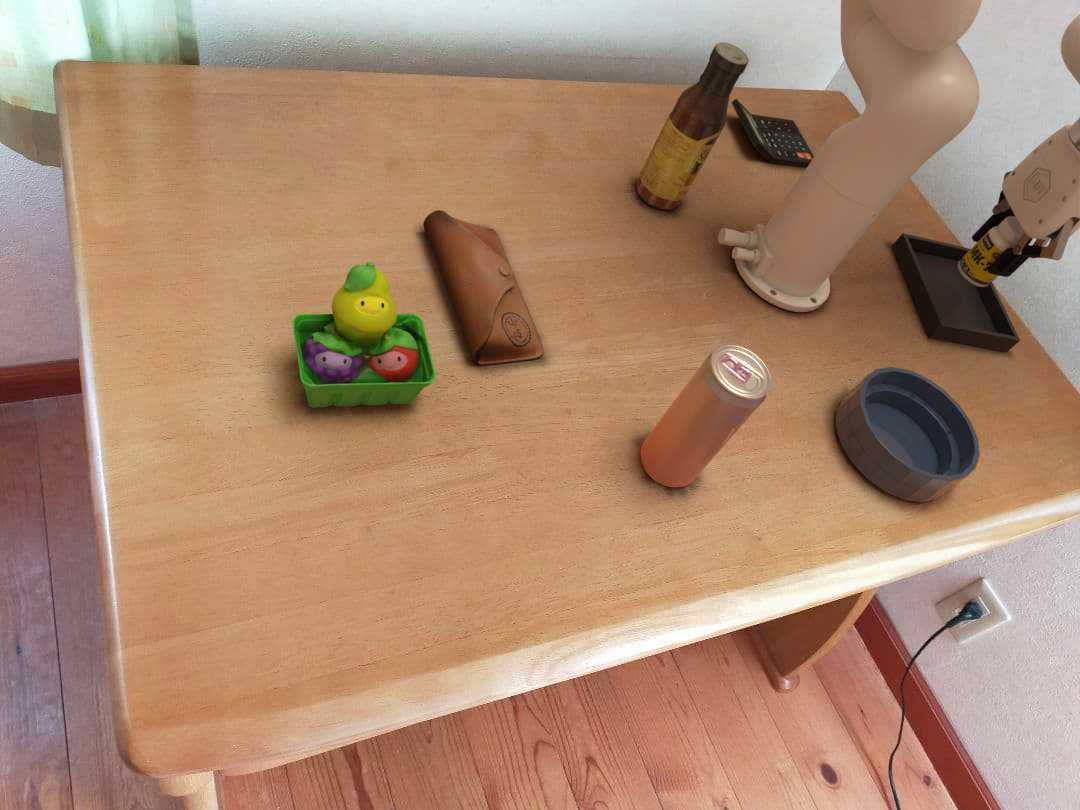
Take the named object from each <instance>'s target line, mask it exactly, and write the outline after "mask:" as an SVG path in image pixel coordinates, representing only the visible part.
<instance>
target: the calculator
mask: <svg viewBox="0 0 1080 810" xmlns="http://www.w3.org/2000/svg"><path fill="white" fill-rule="evenodd" d="M731 105H732V108H733V109H734V111H735V113H736V115H737V117H738V119H739V121H740V123H741V124H742V127H743V128H744V131H745V133H746V134H747V136H748V138H749V140H750V142H751V144H752V146H753V148H755V150H756V151H758V152H759V153H760V154H761V156H763V157H764V158H765V159H766V160H767V161H768V162H769V163H770V164H774V165H780V166H781V165H782V166H788V167H789V166H790V167H798V168H805V169H806V168H807V167H808V165H809V164H810V162H811V161H812V160H813V158H814V157H815V155H814V154H813V152H812V151H811V149H810V147H809V145H808V144H807V142H806V140H805V138H804V137H803V134H802V133H801V132H800V131H801V130H799V128H798V126H797V124H796V122H795V121H794V120H793V119H788V118H787V119H786V118H779V117H774V116H767V115H766V116H765V115H759V114H753V113H751V112H750V111H749V110H748V109H747V108H746V107H745V106H744V105H743V104H742V103H741V102H740V101H739V100H738V99H737V98H734V99H733V100H732V101H731Z"/></svg>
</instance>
